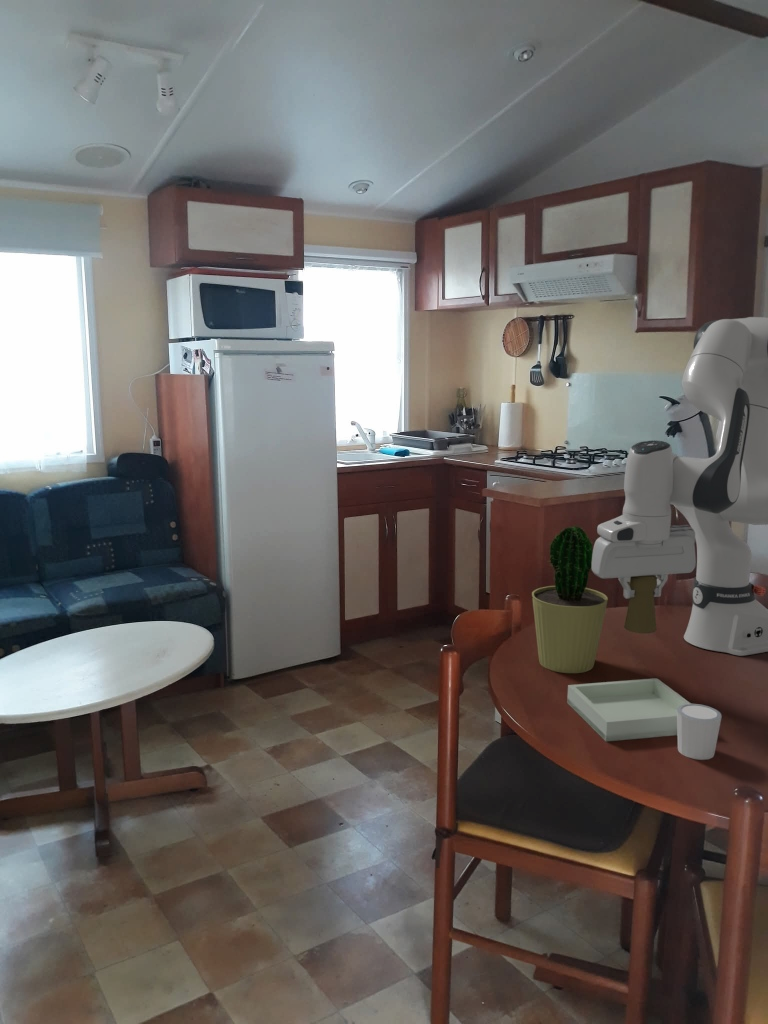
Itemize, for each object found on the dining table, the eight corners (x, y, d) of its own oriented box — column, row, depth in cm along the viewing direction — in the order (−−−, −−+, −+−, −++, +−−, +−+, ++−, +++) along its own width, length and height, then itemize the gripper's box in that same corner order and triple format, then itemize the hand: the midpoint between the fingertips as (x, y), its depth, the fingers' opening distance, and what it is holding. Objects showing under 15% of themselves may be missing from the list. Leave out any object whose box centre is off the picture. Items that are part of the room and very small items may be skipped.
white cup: (727, 757, 135) (731, 717, 134) (692, 764, 133) (696, 723, 131) (698, 739, 141) (701, 700, 140) (664, 745, 139) (667, 706, 138)
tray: (655, 695, 159) (656, 678, 158) (702, 732, 144) (704, 713, 143) (567, 702, 156) (568, 685, 155) (605, 741, 140) (606, 722, 140)
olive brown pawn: (652, 623, 165) (655, 569, 163) (659, 633, 160) (663, 578, 157) (621, 622, 166) (624, 569, 164) (627, 633, 160) (630, 578, 158)
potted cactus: (578, 647, 185) (584, 514, 179) (618, 671, 171) (627, 528, 165) (516, 654, 180) (521, 518, 174) (552, 681, 166) (559, 533, 160)
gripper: (686, 521, 164) (682, 588, 166) (589, 526, 160) (586, 595, 163) (704, 527, 158) (699, 598, 160) (604, 533, 154) (600, 605, 157)
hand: (642, 596), depth 161 cm, fingers closed on olive brown pawn, 4 cm apart
